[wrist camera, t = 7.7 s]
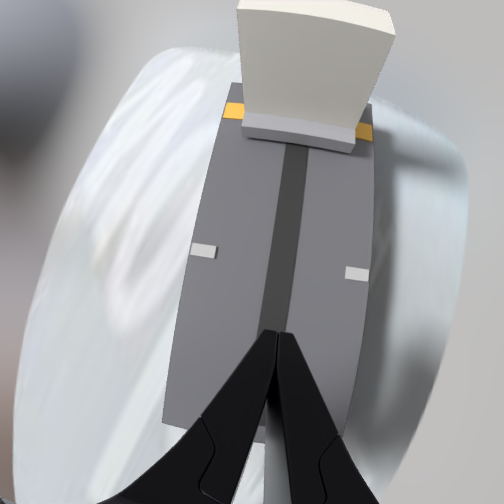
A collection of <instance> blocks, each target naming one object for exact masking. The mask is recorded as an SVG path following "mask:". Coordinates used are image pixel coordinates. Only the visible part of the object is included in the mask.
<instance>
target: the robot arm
mask: <svg viewBox="0 0 504 504" xmlns="http://www.w3.org/2000/svg"><path fill="white" fill-rule="evenodd" d="M265 403H266V426H265V468H264V502H263V504H379V502H378V501H377V499H376V498H375V496H374V495H373V493H372V492H371V490H370V489H369V487H368V485H367V484H366V482H365V481H364V479H363V478H362V476H361V474H360V473H359V471H358V469H357V468H356V466H355V464H354V462H353V461H352V459H351V457H350V455H349V453H348V451H347V449H346V447H345V444H344V442H343V440H342V438H341V436H340V435H339V434H338V433H339V432H338V429H337V427H336V425H335V423H334V421H333V418H332V416H331V414H330V412H329V410H328V408H327V405H326V403H325V401H324V399H323V397H322V394H321V392H320V390H319V388H318V386H317V384H316V381H315V379H314V377H313V375H312V373H311V371H310V368H309V366H308V364H307V362H306V360H305V357H304V355H303V353H302V351H301V349H300V347H299V344H298V342H297V340H296V338H295V336H294V334H293V333H289V332H282V331H280V332H279V333H278V332H277V331H275V330H268V329H264V330H262V332H261V333H260V334H259V336H258V337H257V339H256V340H255V341H254V343H253V344H252V346H251V347H250V348H249V350H248V351H247V353H246V354H245V355H244V357H243V358H242V360H241V361H240V362H239V364H238V365H237V367H236V368H235V369H234V371H233V372H232V373H231V375H230V376H229V377H228V379H227V380H226V381H225V383H224V384H223V386H222V387H221V388H220V390H219V391H218V392H217V394H216V395H215V396H214V398H213V399H212V400H211V401H210V403H209V404H208V405H207V407H206V408H205V409H204V411H203V412H202V413H201V415H200V417H198V418H197V419H196V421H195V422H194V423H193V425H192V426H191V427H190V428H189V429H188V431H187V432H186V433H185V434H184V435H183V436H182V438H181V439H180V440H179V441H178V442H177V443H176V444H175V445H174V446H173V447H172V448H171V449H170V450H169V451H168V452H167V453H166V454H165V455H164V456H163V457H162V458H161V459H160V460H158V461H157V462H156V463H155V464H154V465H153V466H152V467H150V468H149V469H148V470H147V471H146V472H145V473H144V474H142V475H141V476H140V477H139V478H138V479H137V480H135V481H134V482H133V483H132V484H131V485H129V486H128V487H127V488H125V489H124V490H122V491H121V492H119V493H118V494H116V495H115V496H113V497H111V498H109V499H107V500H104V501H102V502H100V503H97V504H232V503H233V501H234V498H235V495H236V492H237V490H238V487H239V484H240V481H241V478H242V475H243V472H244V469H245V466H246V463H247V460H248V457H249V454H250V451H251V448H252V445H253V442H254V439H255V436H256V433H257V429H258V426H259V423H260V420H261V417H262V413H263V410H264V407H265ZM0 504H16V503H14V502H12V501H9V500H7V499H4V498H2V497H1V496H0Z"/></svg>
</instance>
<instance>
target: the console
mask: <svg viewBox="0 0 504 504" xmlns="http://www.w3.org/2000/svg"><path fill="white" fill-rule="evenodd" d="M244 112H245V110H244V97H243V84H242V83H233V82H232V83H231V87H230V90H229V94H228V97H227V100H226V104H225V107H224V111H223V114H222V118H221V122H220V125H219V129H218V133H217V136H216V140H215V144H214V148H213V152H212V155H211V159H210V163H209V167H208V171H207V175H206V179H205V183H204V188H203V192H202V196H201V200H200V205H199V209H198V213H197V218H196V222H195V227H194V232H193V236H192V241H191V246H190V250H189V255H188V260H187V265H186V270H185V275H184V281H183V286H182V291H181V297H180V302H179V308H178V314H177V319H176V325H175V331H174V337H173V344H172V350H171V357H170V363H169V370H168V377H167V385H166V392H165V400H164V408H163V417H162V423H164V424H168V425H172V426H176V427H180V428H184V429H189V428H190V427H191V426H192V425H193V423H194V422H195V421H196V419H197V418H198V417H200V415H201V413H202V412H203V411H204V409H205V408H206V407H207V405H208V404H209V403H210V401H211V400H212V399H213V398H214V396H215V395H216V394H217V392H218V391H219V390H220V388H221V387H222V386H223V384H224V383H225V381H226V380H227V379H228V377H229V376H230V375H231V373H232V372H233V371H234V369H235V368H236V367H237V365H238V364H239V362H240V361H241V360H242V358H243V357H244V355H245V354H246V353H247V351H248V350H249V348H250V347H251V346H252V344H253V343H254V341H255V340H256V339H257V337H258V336H259V334H260V333H261V332H262V330H264V329H268V330H275V331H277V332H278V333H279V332H280V331H282V332H289V333H293V334H294V336H295V338H296V340H297V342H298V344H299V347H300V349H301V351H302V353H303V355H304V357H305V360H306V362H307V364H308V366H309V368H310V371H311V373H312V375H313V377H314V379H315V381H316V384H317V386H318V388H319V390H320V392H321V394H322V397H323V399H324V401H325V403H326V405H327V408H328V410H329V412H330V414H331V416H332V418H333V421H334V423H335V425H336V427H337V429H338V432H339V433H338V434H339V435H340V436H341V438H342V437H343V433H344V429H345V425H346V420H347V416H348V412H349V407H350V403H351V398H352V393H353V388H354V383H355V378H356V373H357V367H358V362H359V356H360V350H361V344H362V337H363V330H364V323H365V315H366V307H367V299H368V289H369V279H370V268H371V255H372V239H373V218H374V141H373V120H372V105H371V104H368V103H367V104H366V107H365V109H364V111H363V113H362V115H361V118H360V120H359V122H358V124H357V126H356V129H355V146H354V148H353V150H352V152H351V154H350V153H346V152H341V151H336V150H330V149H325V148H319V147H314V146H308V145H302V144H295V143H289V142H282V141H275V140H267V139H260V138H251V137H242V128H241V125H242V121H243V117H244ZM265 426H266V403H265V407H264V410H263V413H262V417H261V420H260V423H259V426H258V429H257V433H256V436H255V439H254V442H257V443H264V444H265Z"/></svg>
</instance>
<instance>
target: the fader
mask: <svg viewBox="0 0 504 504" xmlns="http://www.w3.org/2000/svg"><path fill="white" fill-rule="evenodd" d="M237 20H238V34H239V46H240V59H241V72H242V84H243V97H244V110H245V112H244V117H243V121H242V125H241V128H242V137H251V138H260V139H267V140H275V141H282V142H289V143H295V144H302V145H308V146H314V147H319V148H325V149H330V150H336V151H341V152H346V153H350V154H351V152H352V150H353V148H354V146H355V129H356V126H357V124H358V122H359V120H360V118H361V115H362V113H363V111H364V109H365V107H366V104H367V102H368V100H369V98H370V95H371V93H372V91H373V88H374V86H375V84H376V82H377V79H378V77H379V74H380V72H381V70H382V68H383V65H384V63H385V61H386V58H387V56H388V53H389V51H390V49H391V46H392V44H393V41H394V39H395V37H396V34H395V30H394V27H393V24H392V21H391V18H390V15H389V12H387V11H384V10H381V9H377V8H374V7H370V6H367V5H363V4H359V3H354V2H350V1H346V0H240V2H239V4H238V7H237Z"/></svg>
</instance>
